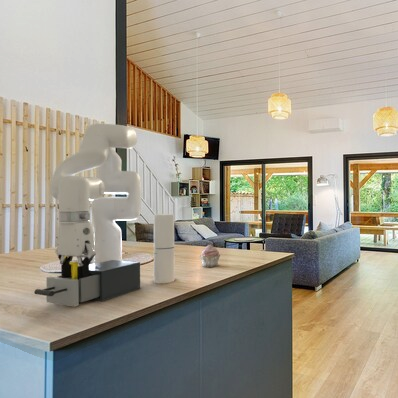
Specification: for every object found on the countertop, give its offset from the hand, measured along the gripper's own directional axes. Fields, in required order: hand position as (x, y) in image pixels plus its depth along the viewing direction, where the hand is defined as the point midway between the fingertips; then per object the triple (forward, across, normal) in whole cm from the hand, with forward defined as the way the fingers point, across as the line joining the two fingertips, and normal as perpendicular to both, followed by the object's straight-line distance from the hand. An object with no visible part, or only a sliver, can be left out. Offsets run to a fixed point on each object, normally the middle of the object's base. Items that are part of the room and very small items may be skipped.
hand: (75, 277), depth 96 cm
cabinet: (+8, 0, -11) cm, 13 cm away
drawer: (+7, 0, 0) cm, 7 cm away
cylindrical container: (+8, -7, -29) cm, 31 cm away
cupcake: (+8, -8, -57) cm, 58 cm away
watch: (+1, 0, 0) cm, 1 cm away
